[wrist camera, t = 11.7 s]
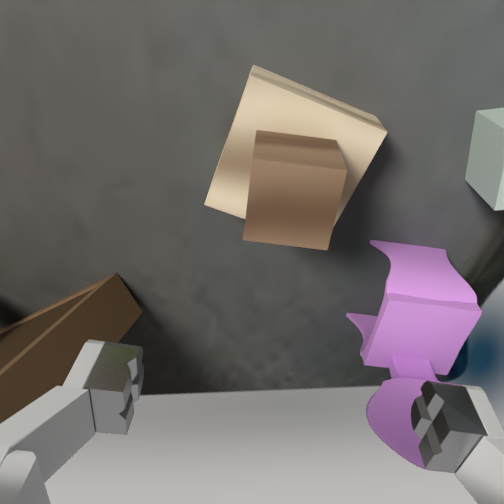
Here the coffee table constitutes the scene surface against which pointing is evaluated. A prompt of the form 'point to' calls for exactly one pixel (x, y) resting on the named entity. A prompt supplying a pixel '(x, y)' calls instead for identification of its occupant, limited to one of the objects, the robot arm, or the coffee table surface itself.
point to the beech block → (290, 122)
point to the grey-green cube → (488, 157)
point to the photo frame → (59, 340)
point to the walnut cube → (294, 190)
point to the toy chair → (413, 336)
